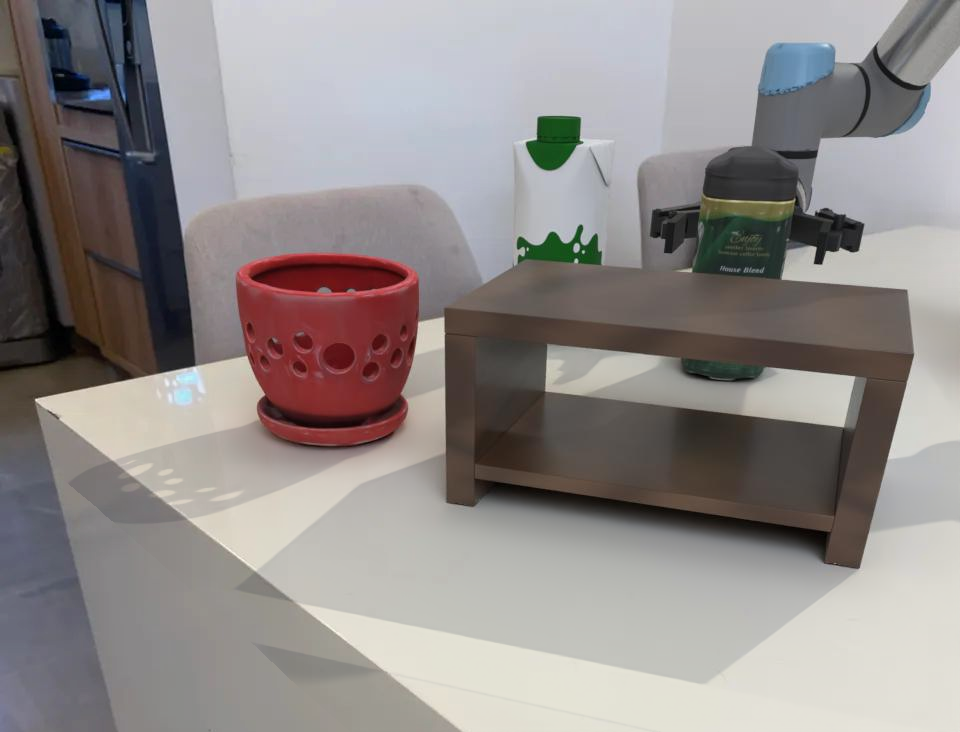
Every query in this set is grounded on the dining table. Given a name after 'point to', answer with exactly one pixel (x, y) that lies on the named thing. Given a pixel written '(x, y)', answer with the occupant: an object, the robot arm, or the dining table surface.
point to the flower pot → (329, 344)
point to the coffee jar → (743, 228)
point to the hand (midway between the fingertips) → (743, 243)
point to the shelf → (665, 429)
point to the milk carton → (561, 194)
